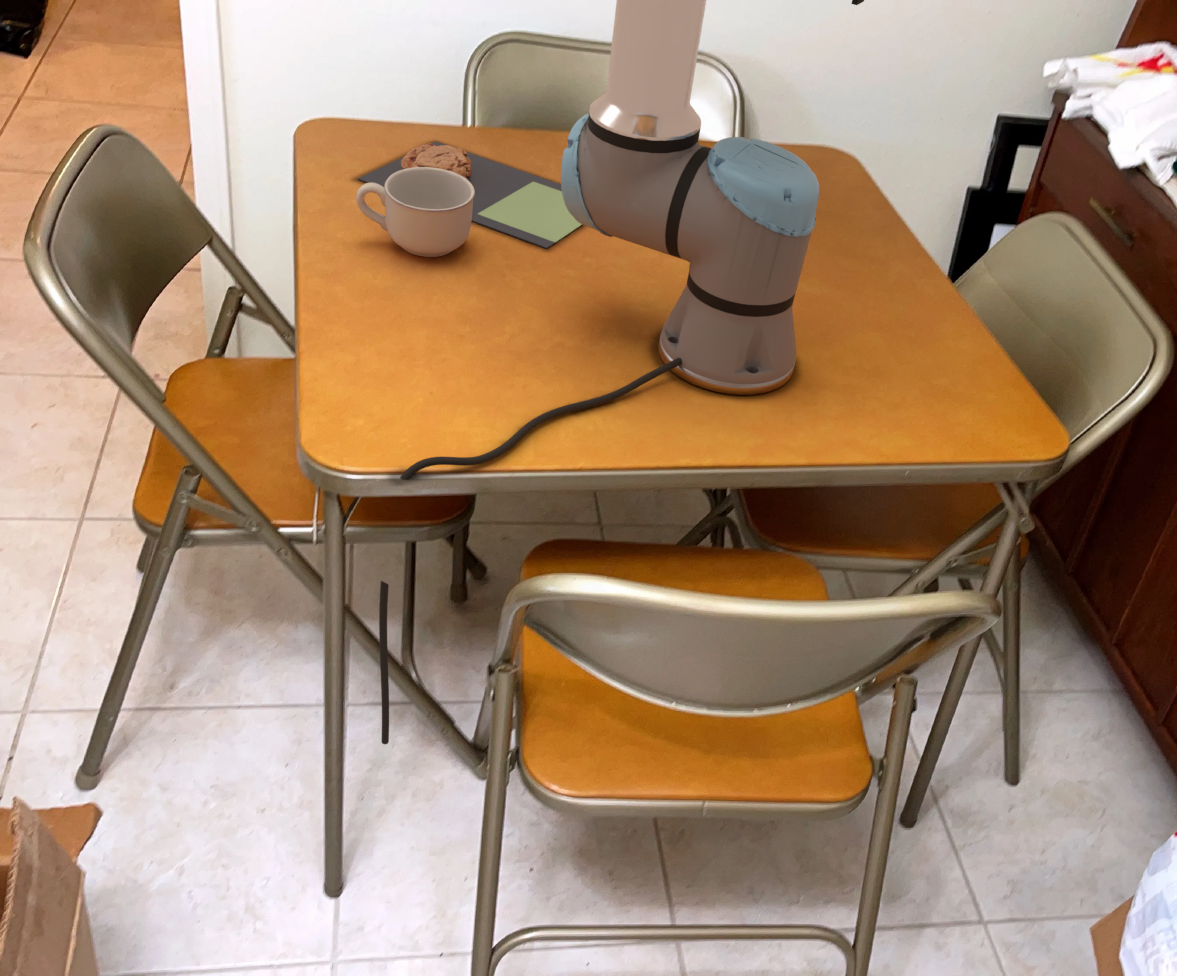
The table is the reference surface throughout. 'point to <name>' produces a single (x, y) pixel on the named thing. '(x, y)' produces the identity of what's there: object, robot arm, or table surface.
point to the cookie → (439, 159)
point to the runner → (508, 201)
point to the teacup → (423, 209)
